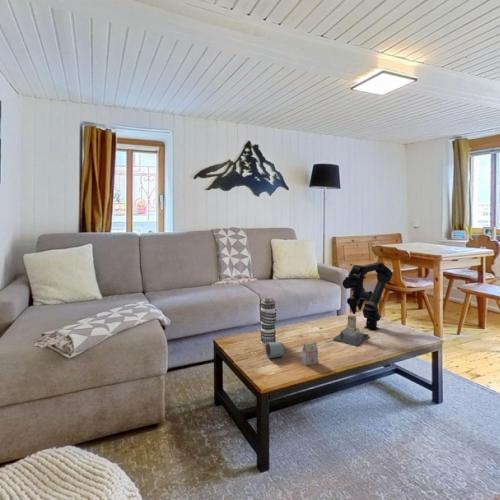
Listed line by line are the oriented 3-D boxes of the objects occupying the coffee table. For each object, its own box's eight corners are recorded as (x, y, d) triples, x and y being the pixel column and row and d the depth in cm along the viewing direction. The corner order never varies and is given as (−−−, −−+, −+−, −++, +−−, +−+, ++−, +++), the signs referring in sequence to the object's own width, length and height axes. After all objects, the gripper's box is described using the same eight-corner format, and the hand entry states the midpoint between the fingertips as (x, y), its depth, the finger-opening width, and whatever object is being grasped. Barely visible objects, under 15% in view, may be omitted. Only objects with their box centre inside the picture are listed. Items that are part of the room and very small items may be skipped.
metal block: (349, 334, 193) (350, 314, 191) (355, 336, 191) (356, 315, 189) (347, 336, 190) (347, 315, 188) (353, 338, 188) (354, 317, 186)
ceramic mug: (285, 358, 165) (285, 343, 165) (270, 361, 163) (270, 346, 162) (277, 350, 175) (277, 336, 175) (262, 352, 173) (262, 338, 172)
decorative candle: (262, 338, 191) (262, 296, 188) (278, 340, 188) (278, 297, 185) (257, 344, 182) (257, 300, 179) (273, 346, 179) (274, 302, 176)
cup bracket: (345, 330, 202) (345, 322, 201) (368, 336, 193) (369, 327, 192) (333, 340, 188) (333, 331, 187) (357, 346, 179) (358, 336, 178)
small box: (301, 362, 161) (302, 343, 160) (313, 360, 163) (313, 340, 162) (305, 366, 158) (306, 346, 156) (317, 363, 160) (318, 343, 159)
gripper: (366, 291, 183) (365, 318, 185) (376, 285, 197) (375, 310, 199) (346, 288, 190) (346, 315, 191) (358, 283, 204) (357, 307, 206)
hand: (357, 312), depth 197 cm, fingers open, 9 cm apart
